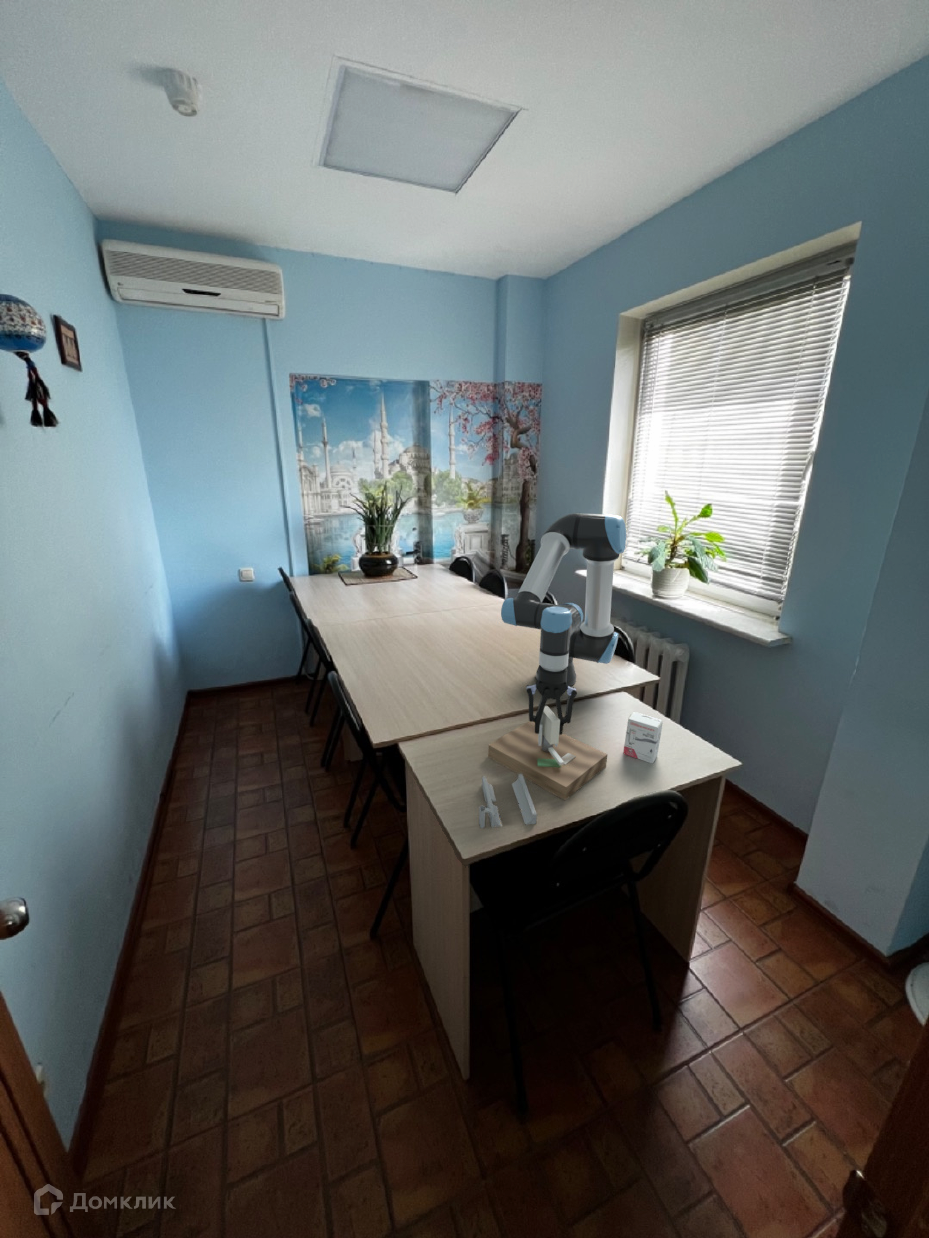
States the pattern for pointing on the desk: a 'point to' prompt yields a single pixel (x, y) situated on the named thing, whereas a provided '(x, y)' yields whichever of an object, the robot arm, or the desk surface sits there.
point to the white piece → (550, 733)
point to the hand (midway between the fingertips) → (547, 743)
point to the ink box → (643, 737)
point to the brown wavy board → (548, 760)
